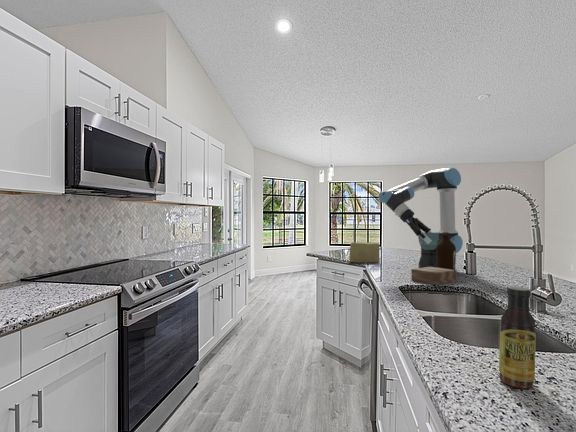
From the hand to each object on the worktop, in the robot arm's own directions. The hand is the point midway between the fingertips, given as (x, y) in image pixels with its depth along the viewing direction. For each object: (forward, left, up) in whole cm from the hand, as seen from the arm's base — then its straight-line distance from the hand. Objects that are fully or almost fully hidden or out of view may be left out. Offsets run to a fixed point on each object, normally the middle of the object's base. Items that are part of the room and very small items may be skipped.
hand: (433, 241), depth 184 cm
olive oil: (-21, -7, -21) cm, 30 cm away
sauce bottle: (+84, +79, -21) cm, 118 cm away
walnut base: (-1, -1, -21) cm, 21 cm away
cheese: (-26, -78, -21) cm, 85 cm away
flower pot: (+1, -3, -5) cm, 5 cm away
